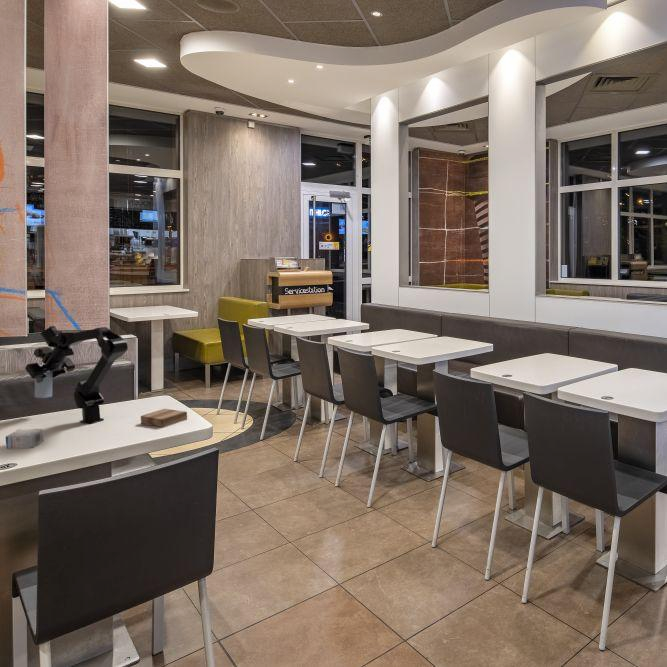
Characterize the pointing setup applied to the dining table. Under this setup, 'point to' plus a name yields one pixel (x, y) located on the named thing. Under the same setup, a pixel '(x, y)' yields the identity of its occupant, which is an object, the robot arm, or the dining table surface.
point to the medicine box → (24, 438)
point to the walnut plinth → (164, 417)
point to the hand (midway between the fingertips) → (42, 380)
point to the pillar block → (44, 386)
